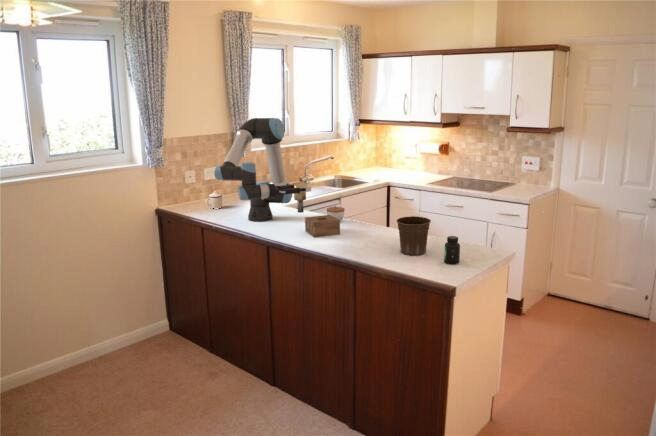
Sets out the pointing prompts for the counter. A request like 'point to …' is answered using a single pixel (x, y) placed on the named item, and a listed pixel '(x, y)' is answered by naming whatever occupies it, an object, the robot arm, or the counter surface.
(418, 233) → the plant pot
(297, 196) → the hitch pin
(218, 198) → the teacup with lid
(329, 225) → the block
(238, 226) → the counter surface
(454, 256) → the supplement bottle
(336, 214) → the lidded jar
